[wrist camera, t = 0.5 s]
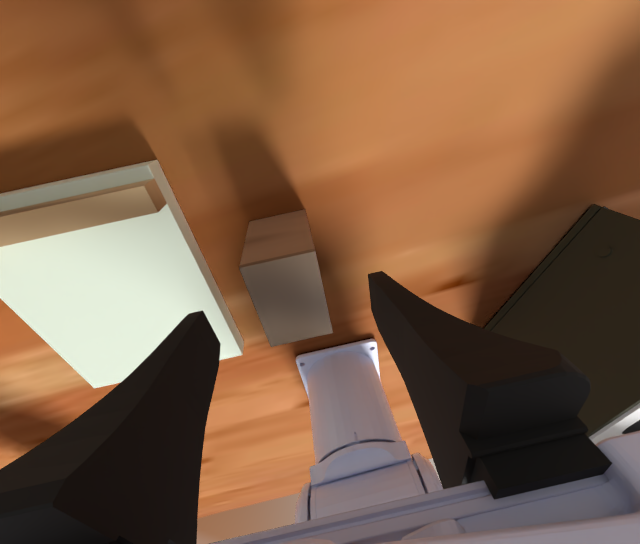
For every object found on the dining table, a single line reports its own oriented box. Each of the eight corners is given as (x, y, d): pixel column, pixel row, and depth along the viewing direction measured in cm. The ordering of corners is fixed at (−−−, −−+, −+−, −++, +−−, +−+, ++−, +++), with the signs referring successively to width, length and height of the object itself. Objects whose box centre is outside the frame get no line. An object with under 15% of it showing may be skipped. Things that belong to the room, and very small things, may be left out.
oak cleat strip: (167, 203, 17) (157, 212, 15) (-49, 250, 17) (-76, 263, 15) (154, 178, 16) (143, 185, 15) (-73, 227, 16) (-104, 239, 14)
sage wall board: (244, 342, 26) (242, 354, 24) (103, 373, 25) (94, 388, 24) (157, 159, 17) (147, 164, 15) (-59, 206, 17) (-87, 215, 15)
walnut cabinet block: (320, 278, 23) (333, 332, 18) (272, 288, 23) (270, 346, 18) (305, 208, 20) (315, 251, 14) (249, 221, 20) (239, 268, 14)
